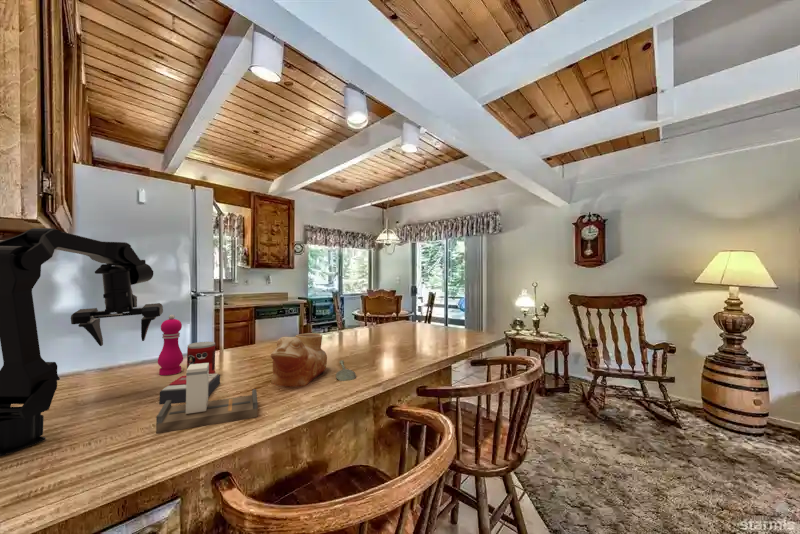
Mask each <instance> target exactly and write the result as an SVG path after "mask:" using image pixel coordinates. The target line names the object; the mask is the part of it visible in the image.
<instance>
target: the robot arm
mask: <svg viewBox="0 0 800 534" xmlns="http://www.w3.org/2000/svg"><path fill="white" fill-rule="evenodd" d="M55 250H57V251H63V252H69V253H72V254H78V255H83V256H86V257H89V258H90V259H91V260H93V261H95V262H97V263H99V264H100V267H98V268H97V269H95V271H94V274H96V275H98V274H100V275H102V284H103V285H102V286H103V299H104V305H105V309H104V310H99V309H98V308H97V307H94V308H93V307H92V308H80V309H77V311H75V312H74V313H73V312H72V314H70V315H71V316H70V322H71V323H70V324H71V325H78V327H79V328H84V329H85V331H87V332H88V333H89V334H90V336H91V337H92V338H93V339H94V340H95V342H96V343H97V345H99V346H100V347H102V346H103V345H104V339H103V334H102V328H101V319H103V318H116V317H127V316H129V317H130V316H136V315H137V316H138V315H141V316H143V317H142V318H141V319H140V323H141V325H140V331H141V332H140V333H141V334H140V335H141V342H144V341H145V340H146V336H147V333H148V329H149V326H150V324H151V322H152V321H154V320H155V319H156V318H158V317H160V316H161V315H162V314H163V313H164V307H163V304H162V303H160V302H158V303H157V302H156V303H146V304H144V305H143V306H142V307H138V296H137V295H135V294H134V293H133V290H132V286H133V285H138V284H141V283H145V282H149V281H150V280H151V279H153V276H154V270H153V268H152V267H151V266H150V265H149V264H147V263H146V259H140V257H139V256H138V255H137V253H136V252H135V251H134V248H133V247H132V245H131V244H130V243H128V242H120V241H102V240H98V239H93V238H89V237H85V236H81V235H77V234H73V233H69V232H65V231H61V230H59V229H57V228H52V227H51V228H49V227H46V228H45V227H33V228H32V227H31V228H30V229H27V230H25V231H24V232H22V233H20V234H18V235H15V236H13V237H9V238H6V239H3V240H1V241H0V347H1V348H0V349H1V354H2V360H3V361H2V362H3V365H2V367H1V368H0V457H3V456H4V457H5V456H7V455H9V454H11V453H15V452H17V451H20V450H24V449H25V448H28V447H31V446H33V445H36V444H39V443H41V442H44V441H46V439H47V437H46V436H43V435H44V421H45V420H44V417H45V416H44V415H43V414H42V413H43V412H46V411H48V410H50V408H51V404H52V402H53V399H54V396H55V393H56V391H57V388H58V381H60V379H61V378H60V377H59V374H58V365H57V364H58V363H57V362H55V361H45V359H43V358H42V356H41V355H42V354H41V348H40V343H39V342H40V340H39V335H38V327H37V319H36V312H35V306H34V298H33V288H34V287H35V286H36V284H37V283H38V281H39V280H40V277H41V272H42V265H43V264H45V263H46V262H48V261H49V260H50V259H52V257H53V256H54V254H55ZM11 405H22V406H11Z"/></svg>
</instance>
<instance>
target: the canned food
mask: <svg viewBox="0 0 800 534" xmlns="http://www.w3.org/2000/svg"><path fill="white" fill-rule="evenodd" d="M201 363H209V374H216V370H215V369H216V342H214V341H198V342H193V343H189V344H187V350H186V370H187V369H188V367H189V365H190V364H201Z"/></svg>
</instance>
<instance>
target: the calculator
mask: <svg viewBox="0 0 800 534" xmlns="http://www.w3.org/2000/svg"><path fill="white" fill-rule="evenodd" d="M220 383H221V375H220V374H219V373H214V374H209V381H208V398H209V397H210V396H211V395H212V393H214V391H215V390H216V388H217V387H218V386H219V385H220ZM167 400H171V405H172V404H184V403H185V404H186V375H181V376H180V377H178V378H177V379H175V380H173V381H172V382H171V383H169V384H168V385H167V386H165V387H164V388H163V389H161V390H160V391H159V400H158V402H159V405H164V404H165V402H166V401H167Z"/></svg>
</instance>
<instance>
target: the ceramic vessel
mask: <svg viewBox="0 0 800 534" xmlns="http://www.w3.org/2000/svg"><path fill="white" fill-rule="evenodd" d="M322 340H323V334H321V333H316V332H315V333H314V332H313V333H300V334H296V335H295V336H281V337H280V338H279V339H278V340H277V342H276V346H275V349H274V350H273V351H272V352H271V353H270V358H271V359H272V377H271V381H270V383H271V385H275V386H281V387H305V386H308V385H309V383H310V382H312V381H313V380H315V379H316V378H318V377H319V376H321V375H323V374H324V373H325V370H326V369H327V363H328V356H327V353H326V351H325V350H323V349H322Z"/></svg>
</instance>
